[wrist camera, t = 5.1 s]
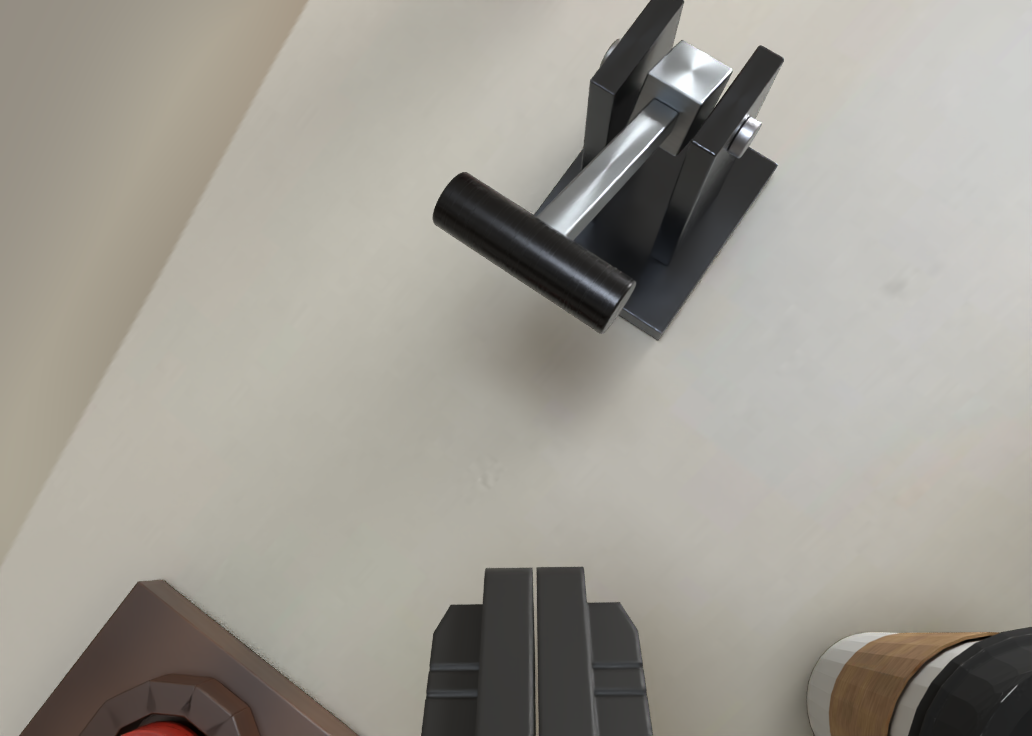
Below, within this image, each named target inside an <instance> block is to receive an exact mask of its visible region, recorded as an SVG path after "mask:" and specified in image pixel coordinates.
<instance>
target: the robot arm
mask: <svg viewBox="0 0 1032 736" xmlns="http://www.w3.org/2000/svg"><path fill="white" fill-rule="evenodd" d="M537 636H538V709H539V736H653V732H652V725H651V719H650V712H649V705H648V698H647V694H646V684H645V677H644V670H643V663H642V656H641V649H640V642H639V635H638V630H637V628H636V627H635V625H634V624H633V622H632V621H631V619H630V617H629V616H628V614H627V613H626V611H625V610H624V608H623V607H622V605H621V603H620V602H612V603H587V600H586V587H585V575H584V568H583V567H537ZM426 693H427V696H426V700H425V708H424V717H423V725H422V733H421V736H536V714H535V640H534V603H533V570H532V568H486V569H485V578H484V594H483V604H475V605H450V607H449V609H448V610H447V612H446V613H445V615H444V617H443V618H442V620H441V622H440V623H439V625H438V627H437V628H436V630H435V632H434V633H433V642H432V650H431V658H430V672H429V675H428V683H427V692H426Z"/></svg>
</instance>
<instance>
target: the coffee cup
mask: <svg viewBox="0 0 1032 736" xmlns="http://www.w3.org/2000/svg"><path fill="white" fill-rule="evenodd" d="M807 711H808V716H809V720H810V724H811V728H812V730H813V732H814V734H815V736H1032V627H1028V628H1022V629H1017V630H1011V631H1006V632H1001V633H995V632H964V633H880V632H866V633H860V634H855V635H851V636H849V637H846V638H844V639H842V640H840V641H838V642H837V643H835V644H834V645H833V646H831V647H830V648H829V649H828V650H827V651H826V652H825V653H824V654H823V655H822V656H821V657H820V659H819V661H818V662H817V664H816V666H815V667H814V669H813V672H812V674H811V677H810V680H809V684H808V691H807Z"/></svg>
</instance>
